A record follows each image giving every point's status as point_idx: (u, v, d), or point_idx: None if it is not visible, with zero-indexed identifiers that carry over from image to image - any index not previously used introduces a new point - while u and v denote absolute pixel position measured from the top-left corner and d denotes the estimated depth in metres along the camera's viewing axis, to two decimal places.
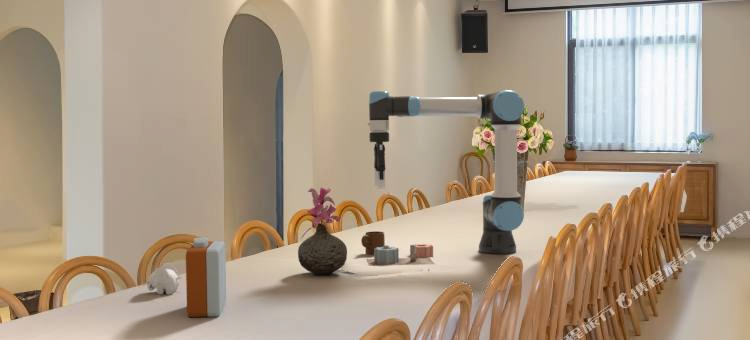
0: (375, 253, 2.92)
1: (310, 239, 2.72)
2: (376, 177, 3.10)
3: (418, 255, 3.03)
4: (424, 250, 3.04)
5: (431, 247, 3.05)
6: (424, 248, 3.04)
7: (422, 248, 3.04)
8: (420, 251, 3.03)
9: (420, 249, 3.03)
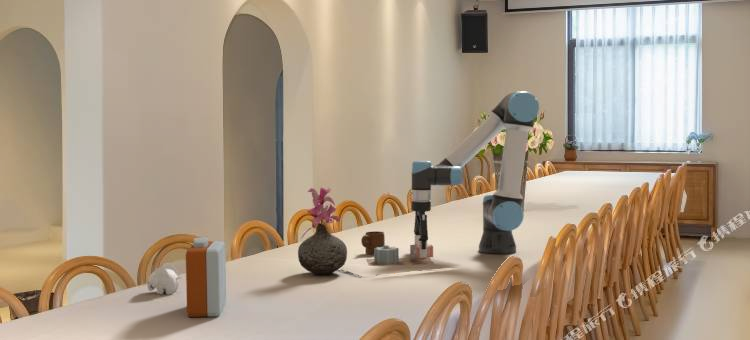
0: (375, 253, 2.92)
1: (310, 239, 2.72)
2: (416, 243, 3.14)
3: (418, 255, 3.03)
4: None
5: (431, 247, 3.05)
6: None
7: None
8: None
9: None
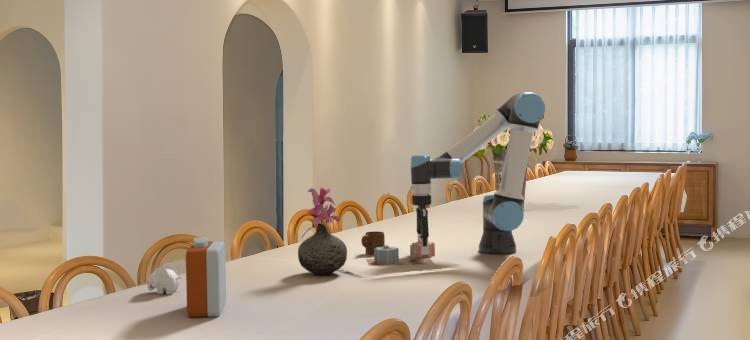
0: (375, 253, 2.92)
1: (310, 239, 2.72)
2: None
3: (420, 253, 3.03)
4: None
5: (433, 245, 3.05)
6: None
7: None
8: None
9: None
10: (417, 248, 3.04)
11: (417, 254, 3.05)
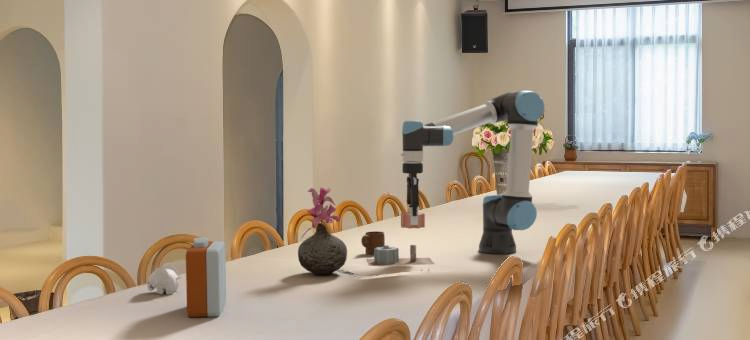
0: (375, 253, 2.92)
1: (310, 239, 2.72)
2: None
3: (409, 223, 2.89)
4: None
5: (422, 215, 2.91)
6: None
7: None
8: None
9: None
10: (406, 218, 2.90)
11: (406, 224, 2.91)
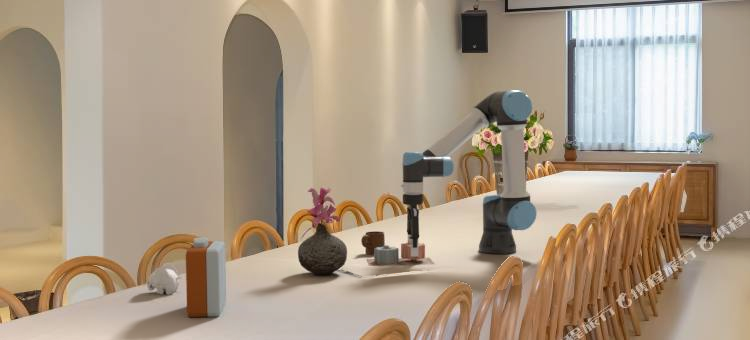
0: (375, 253, 2.92)
1: (310, 239, 2.72)
2: None
3: (409, 254, 2.90)
4: None
5: (423, 246, 2.92)
6: None
7: None
8: None
9: None
10: (406, 249, 2.91)
11: (406, 255, 2.91)
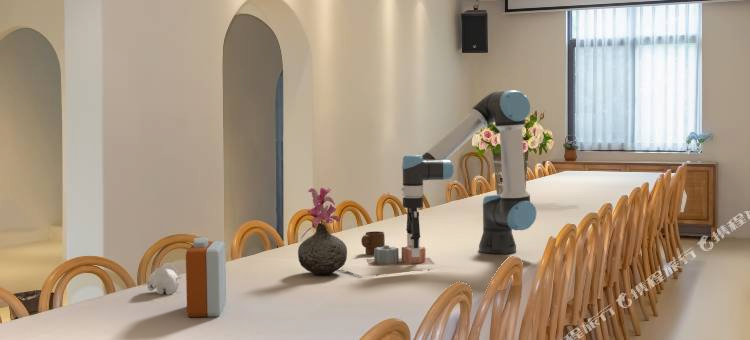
0: (375, 253, 2.92)
1: (310, 239, 2.72)
2: (409, 242, 3.00)
3: (409, 258, 2.90)
4: None
5: (423, 249, 2.92)
6: None
7: None
8: (411, 254, 2.90)
9: (411, 252, 2.90)
10: (407, 253, 2.91)
11: (407, 259, 2.91)
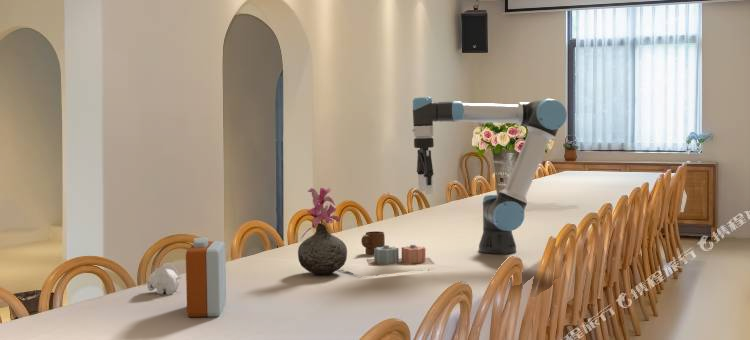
0: (375, 253, 2.92)
1: (310, 239, 2.72)
2: (420, 182, 3.12)
3: (409, 258, 2.90)
4: (416, 253, 2.90)
5: (423, 249, 2.92)
6: (416, 250, 2.90)
7: (414, 250, 2.90)
8: (411, 254, 2.90)
9: (411, 252, 2.90)
10: (407, 253, 2.91)
11: (407, 259, 2.91)
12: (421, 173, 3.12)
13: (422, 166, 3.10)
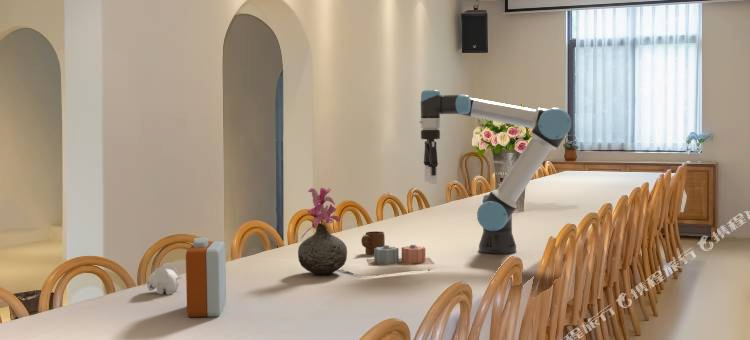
0: (375, 253, 2.92)
1: (310, 239, 2.72)
2: (426, 173, 3.21)
3: (409, 258, 2.90)
4: (416, 253, 2.90)
5: (423, 249, 2.92)
6: (416, 250, 2.90)
7: (414, 250, 2.90)
8: (411, 254, 2.90)
9: (411, 252, 2.90)
10: (407, 253, 2.91)
11: (407, 259, 2.91)
12: (428, 164, 3.22)
13: (428, 157, 3.19)
